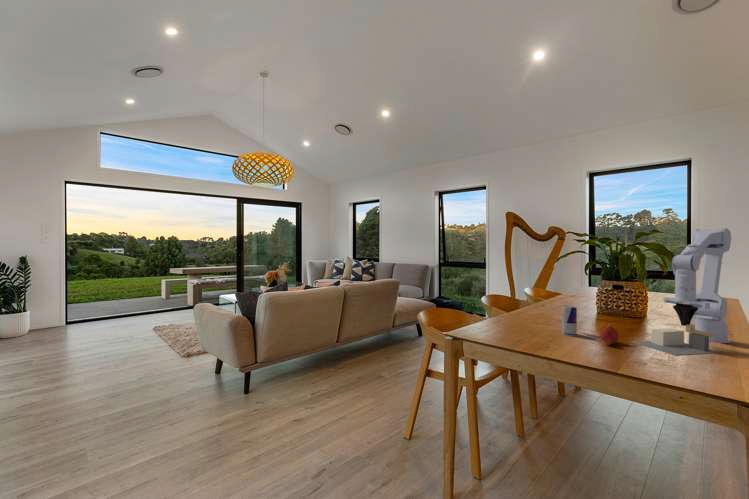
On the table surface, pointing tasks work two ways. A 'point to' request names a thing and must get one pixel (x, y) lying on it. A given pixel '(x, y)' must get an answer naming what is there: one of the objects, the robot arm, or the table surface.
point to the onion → (609, 335)
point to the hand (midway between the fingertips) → (685, 325)
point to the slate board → (683, 346)
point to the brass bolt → (697, 331)
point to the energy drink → (569, 320)
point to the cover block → (667, 336)
